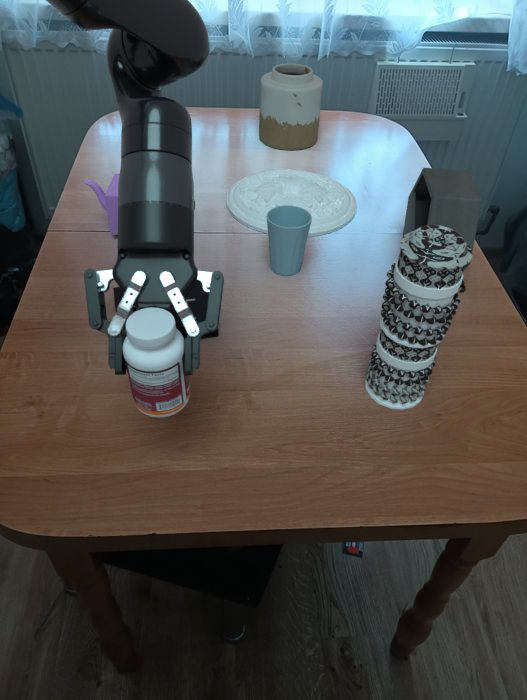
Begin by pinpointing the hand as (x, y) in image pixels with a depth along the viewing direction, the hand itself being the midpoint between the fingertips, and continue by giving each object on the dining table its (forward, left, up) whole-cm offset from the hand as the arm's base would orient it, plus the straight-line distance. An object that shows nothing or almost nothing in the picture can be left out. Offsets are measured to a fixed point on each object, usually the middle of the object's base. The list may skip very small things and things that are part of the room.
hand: (155, 374), depth 54 cm
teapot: (+2, +57, -18) cm, 60 cm away
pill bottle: (0, +2, -6) cm, 6 cm away
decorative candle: (+33, +7, -18) cm, 38 cm away
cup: (+26, +39, -18) cm, 50 cm away
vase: (+43, +95, -18) cm, 106 cm away
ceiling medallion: (+34, +62, -18) cm, 73 cm away
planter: (+51, +33, -18) cm, 64 cm away
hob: (+3, +29, -17) cm, 34 cm away
